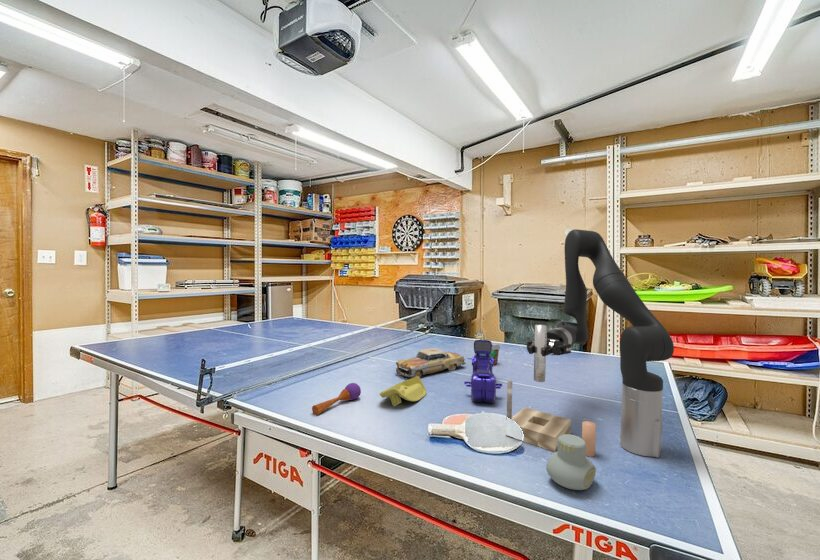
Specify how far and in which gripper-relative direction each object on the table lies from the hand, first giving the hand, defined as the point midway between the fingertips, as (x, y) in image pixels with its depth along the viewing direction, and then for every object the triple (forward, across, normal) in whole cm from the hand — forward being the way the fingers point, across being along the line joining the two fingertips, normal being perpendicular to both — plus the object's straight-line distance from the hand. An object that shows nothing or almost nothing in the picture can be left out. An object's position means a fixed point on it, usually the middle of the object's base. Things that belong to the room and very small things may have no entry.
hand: (536, 351), depth 103 cm
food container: (-58, -46, +26) cm, 78 cm away
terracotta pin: (-1, +14, +25) cm, 29 cm away
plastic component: (+3, -48, +26) cm, 54 cm away
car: (-31, -59, +26) cm, 72 cm away
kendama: (+21, -61, +26) cm, 70 cm away
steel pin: (-3, 0, +9) cm, 9 cm away
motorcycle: (-26, -30, +26) cm, 47 cm away
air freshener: (+15, +14, +25) cm, 33 cm away
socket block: (-3, 0, +25) cm, 25 cm away
